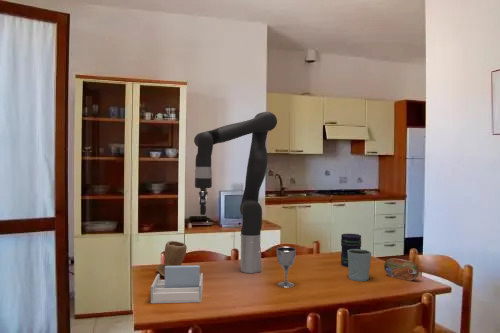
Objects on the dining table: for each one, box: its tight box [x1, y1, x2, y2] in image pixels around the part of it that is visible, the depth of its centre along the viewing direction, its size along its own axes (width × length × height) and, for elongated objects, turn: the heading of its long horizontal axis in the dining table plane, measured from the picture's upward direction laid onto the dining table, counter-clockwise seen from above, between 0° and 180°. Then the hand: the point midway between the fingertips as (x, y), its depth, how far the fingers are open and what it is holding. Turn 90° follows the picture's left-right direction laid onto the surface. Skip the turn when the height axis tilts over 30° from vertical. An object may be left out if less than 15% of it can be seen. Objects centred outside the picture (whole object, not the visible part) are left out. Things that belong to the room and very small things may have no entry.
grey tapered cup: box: [347, 249, 372, 282], centre depth 173 cm, size 10×10×12 cm
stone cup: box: [155, 240, 187, 278], centre depth 177 cm, size 15×12×15 cm
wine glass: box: [276, 246, 297, 288], centre depth 163 cm, size 8×8×15 cm
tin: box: [383, 257, 420, 282], centre depth 174 cm, size 15×3×8 cm, turn 45°
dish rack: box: [150, 272, 204, 304], centre depth 150 cm, size 18×16×6 cm
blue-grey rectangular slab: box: [164, 264, 201, 288], centre depth 150 cm, size 13×2×10 cm, turn 95°
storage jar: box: [340, 233, 362, 268], centre depth 195 cm, size 10×10×15 cm
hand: (203, 213), depth 174 cm, fingers open, 8 cm apart
